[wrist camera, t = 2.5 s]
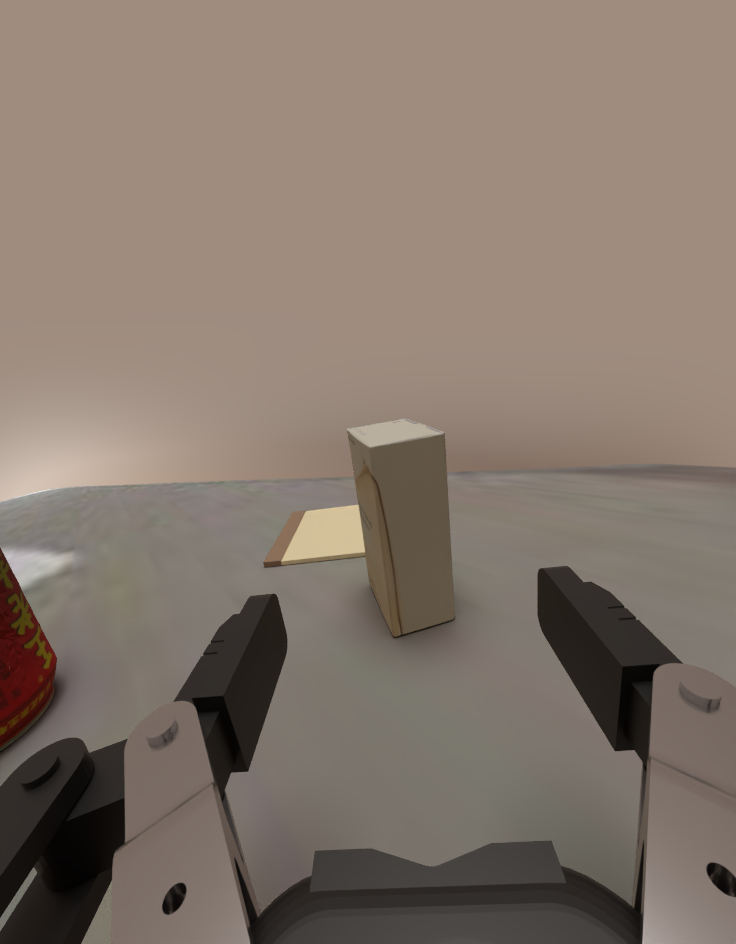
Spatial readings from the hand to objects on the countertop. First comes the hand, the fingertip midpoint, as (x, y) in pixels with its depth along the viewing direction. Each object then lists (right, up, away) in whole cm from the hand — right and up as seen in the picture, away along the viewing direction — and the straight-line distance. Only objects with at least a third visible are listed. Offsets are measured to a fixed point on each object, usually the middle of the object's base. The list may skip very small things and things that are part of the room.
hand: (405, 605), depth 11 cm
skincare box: (+2, -5, +14) cm, 15 cm away
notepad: (-3, -2, +25) cm, 26 cm away
